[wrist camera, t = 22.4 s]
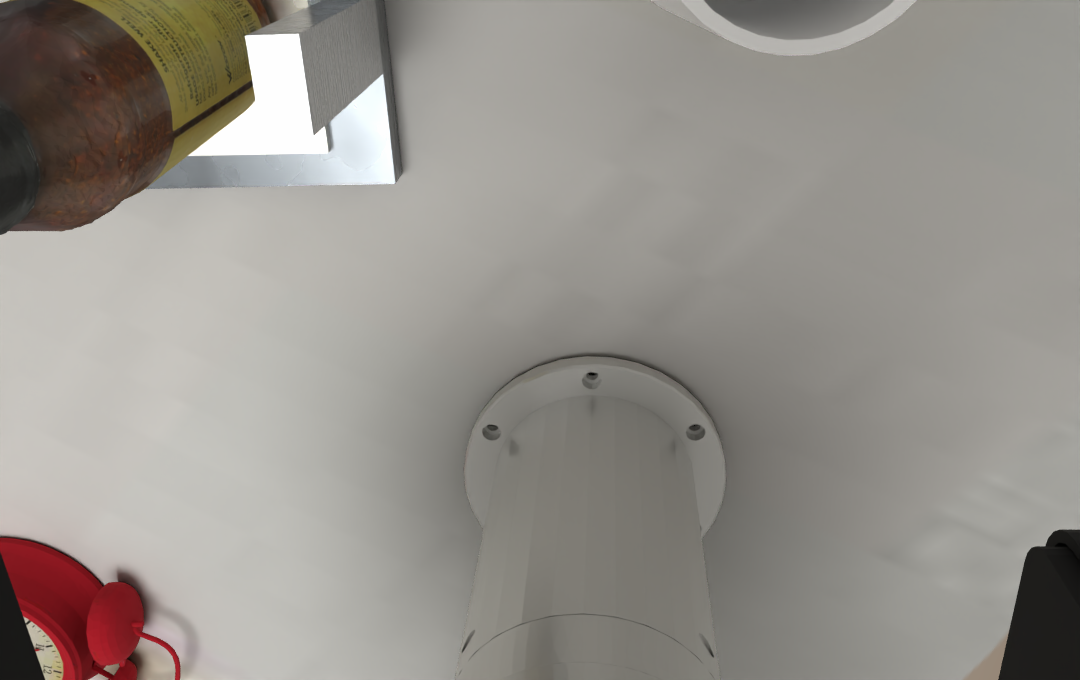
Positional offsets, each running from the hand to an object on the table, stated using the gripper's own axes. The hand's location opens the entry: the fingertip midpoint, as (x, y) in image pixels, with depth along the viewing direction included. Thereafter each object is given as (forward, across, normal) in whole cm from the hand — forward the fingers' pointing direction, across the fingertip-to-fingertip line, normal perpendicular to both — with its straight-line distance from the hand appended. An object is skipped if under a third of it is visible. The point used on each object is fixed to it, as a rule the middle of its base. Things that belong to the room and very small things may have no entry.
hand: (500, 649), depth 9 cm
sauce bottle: (+32, +15, -1) cm, 35 cm away
